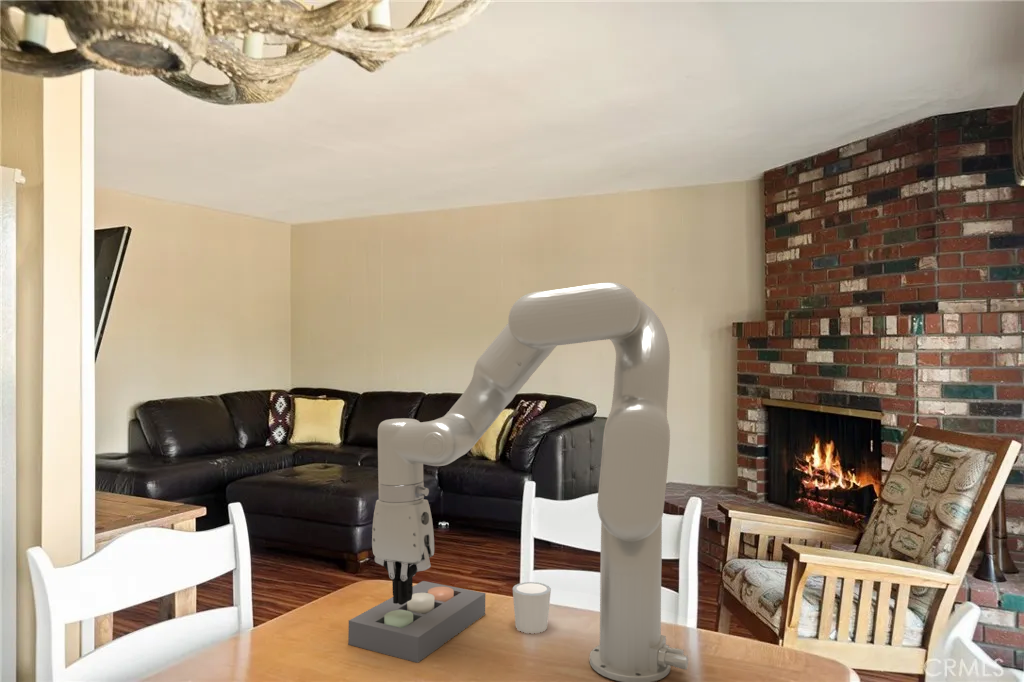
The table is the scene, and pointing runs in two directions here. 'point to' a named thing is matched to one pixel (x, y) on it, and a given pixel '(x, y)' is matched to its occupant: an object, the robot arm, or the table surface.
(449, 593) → the terracotta button
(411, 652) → the console
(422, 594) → the cream button
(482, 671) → the table surface
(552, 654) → the table surface
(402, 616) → the sage button
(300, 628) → the table surface
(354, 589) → the table surface
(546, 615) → the light grey cup
